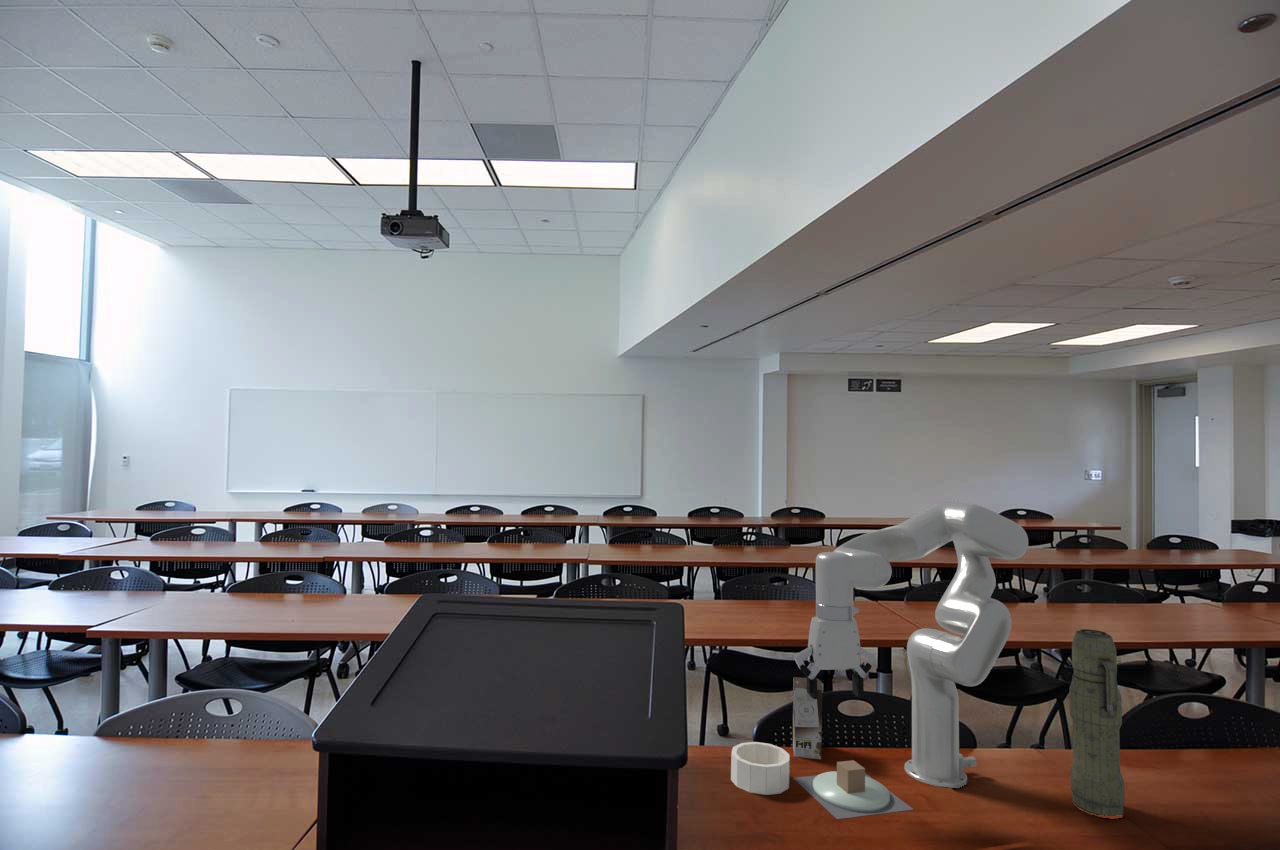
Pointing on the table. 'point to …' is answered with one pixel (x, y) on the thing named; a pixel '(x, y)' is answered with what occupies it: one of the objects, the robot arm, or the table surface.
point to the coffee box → (806, 720)
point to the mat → (840, 813)
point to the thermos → (1096, 725)
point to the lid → (851, 788)
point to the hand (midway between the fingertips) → (835, 696)
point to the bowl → (760, 768)
